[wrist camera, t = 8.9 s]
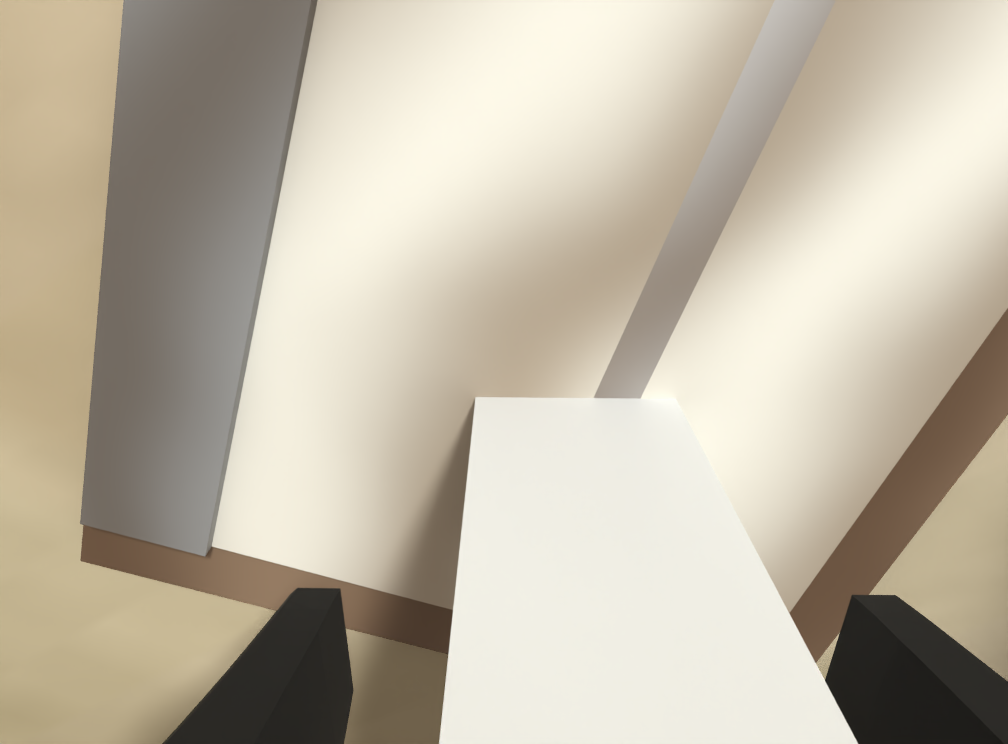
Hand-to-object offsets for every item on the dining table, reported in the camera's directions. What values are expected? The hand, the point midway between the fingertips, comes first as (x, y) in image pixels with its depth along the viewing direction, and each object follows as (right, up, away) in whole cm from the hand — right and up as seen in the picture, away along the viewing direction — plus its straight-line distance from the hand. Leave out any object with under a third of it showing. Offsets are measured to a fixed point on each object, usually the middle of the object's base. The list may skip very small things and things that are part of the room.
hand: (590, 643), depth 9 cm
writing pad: (0, +5, +2) cm, 6 cm away
